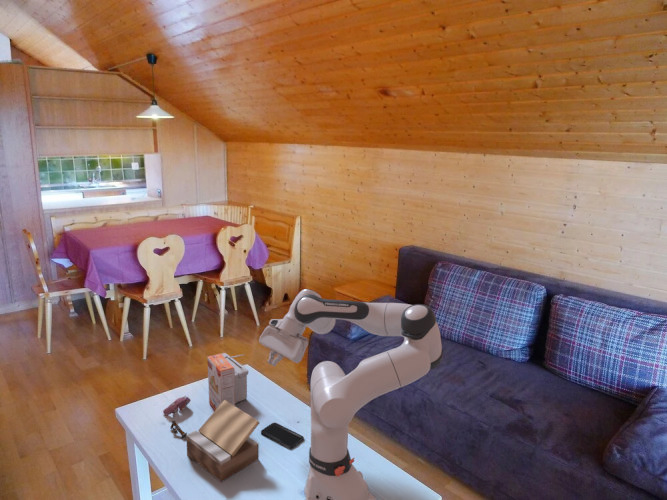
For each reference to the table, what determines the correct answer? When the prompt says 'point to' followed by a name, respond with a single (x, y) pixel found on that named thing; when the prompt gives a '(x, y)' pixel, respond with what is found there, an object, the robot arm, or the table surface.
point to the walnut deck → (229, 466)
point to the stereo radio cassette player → (238, 378)
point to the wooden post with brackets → (177, 428)
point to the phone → (282, 435)
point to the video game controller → (177, 405)
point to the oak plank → (229, 427)
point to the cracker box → (220, 381)
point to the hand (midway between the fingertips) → (270, 364)
